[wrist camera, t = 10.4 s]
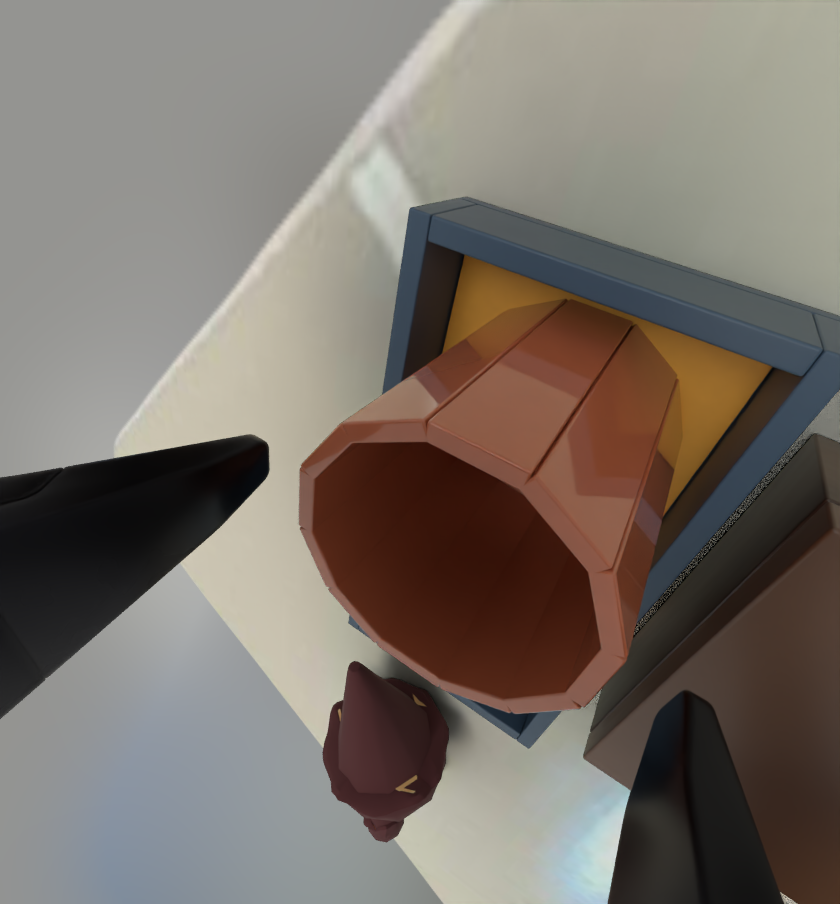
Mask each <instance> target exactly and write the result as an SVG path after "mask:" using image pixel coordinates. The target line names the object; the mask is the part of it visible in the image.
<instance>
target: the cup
mask: <svg viewBox="0 0 840 904" xmlns="http://www.w3.org/2000/svg"><path fill="white" fill-rule="evenodd" d="M632 325H633V322H632V321H630V320H628V319H625V318H622V317H619V316H617V315H614V314H611V313H609V312H606V311H603V310H600V309H598V308H595V307H592V306H589V305H587V304H584V303H581V302H578V301H576V300H573V299H570V300H569V301H568V300H567V299H560V300H555V301H549V302H544V303H539V304H533V305H528V306H522V307H517V308H512V309H508V310H507V311H504V312H503V313H501V314H500V315H498V316H497V317H495V318H494V319H492V320H491V321H489V322H488V323H487V324H485V325H484V326H482V327H481V328H479V329H478V330H476V331H475V332H473V333H472V334H470V335H469V336H467V337H466V338H465V339H463V340H462V341H460V342H459V343H457V344H456V345H454V346H453V347H451V348H450V349H448V350H447V351H446V352H444V353H443V354H441V355H440V356H438V357H437V358H435V359H434V360H432V361H431V362H429V363H428V364H427V365H425V366H424V367H422V368H421V369H419V370H418V371H416V372H415V373H413V374H412V375H410V376H409V377H408V378H406V379H405V380H403V381H402V382H400V383H399V384H397V385H396V386H394V387H393V388H391V389H390V390H389V391H387V392H386V393H384V394H383V395H381V396H380V397H378V398H377V399H375V400H374V401H372V402H371V403H370V404H368V405H367V406H365V407H364V408H362V409H361V410H359V411H358V412H356V413H355V414H353V415H352V416H350V417H349V418H348V419H346V420H345V421H343V422H342V423H340V424H339V425H338V426H337V427H336V428H335V429H334V430H333V431H332V432H331V433H330V434H329V435H328V437H327V438H326V439H325V440H324V441H323V442H322V443H321V444H320V445H319V446H318V447H317V448H316V449H315V450H314V451H313V452H312V453H311V455H310V456H309V457H308V458H307V459H306V460H305V461H304V462H303V463H302V465H301V468H300V476H299V525H300V526H301V527H300V530H301V533H302V535H303V537H304V539H305V541H306V544H307V546H308V548H309V550H310V552H311V555H312V557H313V559H314V561H315V564H316V566H317V568H318V570H319V572H320V575H321V577H322V579H323V581H324V583H325V585H326V586H327V587H329V589H328V590H329V591H330V592H331V594H332V595H333V596H334V597H335V598H336V599H337V601H338V602H339V603H340V604H341V605H342V606H343V607H344V609H345V610H346V611H347V612H348V613H349V614H350V615H351V617H352V618H353V619H354V620H355V621H356V622H357V624H358V625H359V626H360V627H361V628H362V629H363V630H364V632H365V633H366V634H367V635H368V636H369V637H370V638H371V640H372V641H373V642H378V643H377V645H378V646H379V647H380V648H382V649H383V650H385V651H386V652H387V653H389V654H390V655H392V656H393V657H395V658H396V659H397V660H399V661H400V662H402V663H403V664H405V665H406V666H408V667H409V668H410V669H412V670H413V671H415V672H416V673H418V674H419V675H420V676H422V677H423V678H425V679H426V680H428V681H429V682H430V683H432V684H433V685H435V686H436V687H439V686H440V688H441V689H442V690H444V691H447V692H450V693H453V694H456V695H459V696H462V697H465V698H467V699H470V700H473V701H476V702H479V703H482V704H485V705H488V706H490V707H493V708H496V709H499V710H502V711H505V712H508V713H511V711H512V712H513V713H514V714H522V713H535V712H549V711H562V710H575V709H580V708H581V707H585V706H586V705H587V704H588V703H589V702H590V701H591V700H592V699H593V698H594V696H595V695H596V694H597V693H598V692H599V691H600V690H601V689H602V688H603V687H604V686H605V684H606V683H607V682H608V681H609V680H610V679H611V678H612V677H613V676H614V675H615V674H616V673H617V671H618V670H619V669H620V668H621V667H622V666H623V665H624V664H625V663H626V661H627V657H628V654H629V650H630V646H631V642H632V638H633V634H634V630H635V626H636V622H637V618H638V614H639V610H640V606H641V602H642V598H643V594H644V590H645V586H646V582H647V578H648V574H649V570H650V566H651V562H652V558H653V554H654V550H655V546H656V542H657V538H658V534H659V530H660V526H661V522H662V518H663V514H664V510H665V506H666V502H667V498H668V494H669V490H670V486H671V482H672V478H673V474H674V470H675V466H676V462H677V458H678V454H679V450H680V446H681V442H682V438H683V431H682V415H681V399H680V383H679V379H677V374H676V372H675V371H674V370H673V369H672V367H671V366H670V365H669V364H668V363H667V361H666V360H665V359H664V358H663V356H662V355H661V354H660V353H659V351H658V350H657V349H656V348H655V346H654V345H653V344H652V343H651V341H650V340H649V339H648V338H647V336H646V335H645V334H644V333H643V331H642V330H641V329H640V328H639V326H638V325H637V324H635V325H633V326H632Z"/></svg>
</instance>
